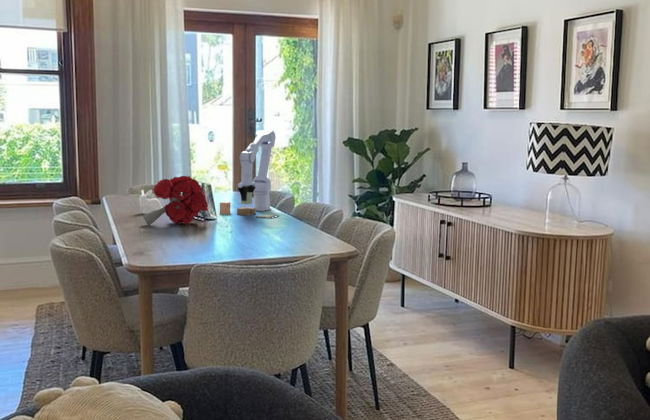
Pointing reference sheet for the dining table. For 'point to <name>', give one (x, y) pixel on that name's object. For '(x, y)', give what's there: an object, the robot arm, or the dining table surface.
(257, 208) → the robot arm
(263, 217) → the card
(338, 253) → the dining table surface
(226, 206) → the terracotta block
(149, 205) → the rabbit
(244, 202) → the sage block
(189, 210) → the bouquet
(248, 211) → the walnut slab
